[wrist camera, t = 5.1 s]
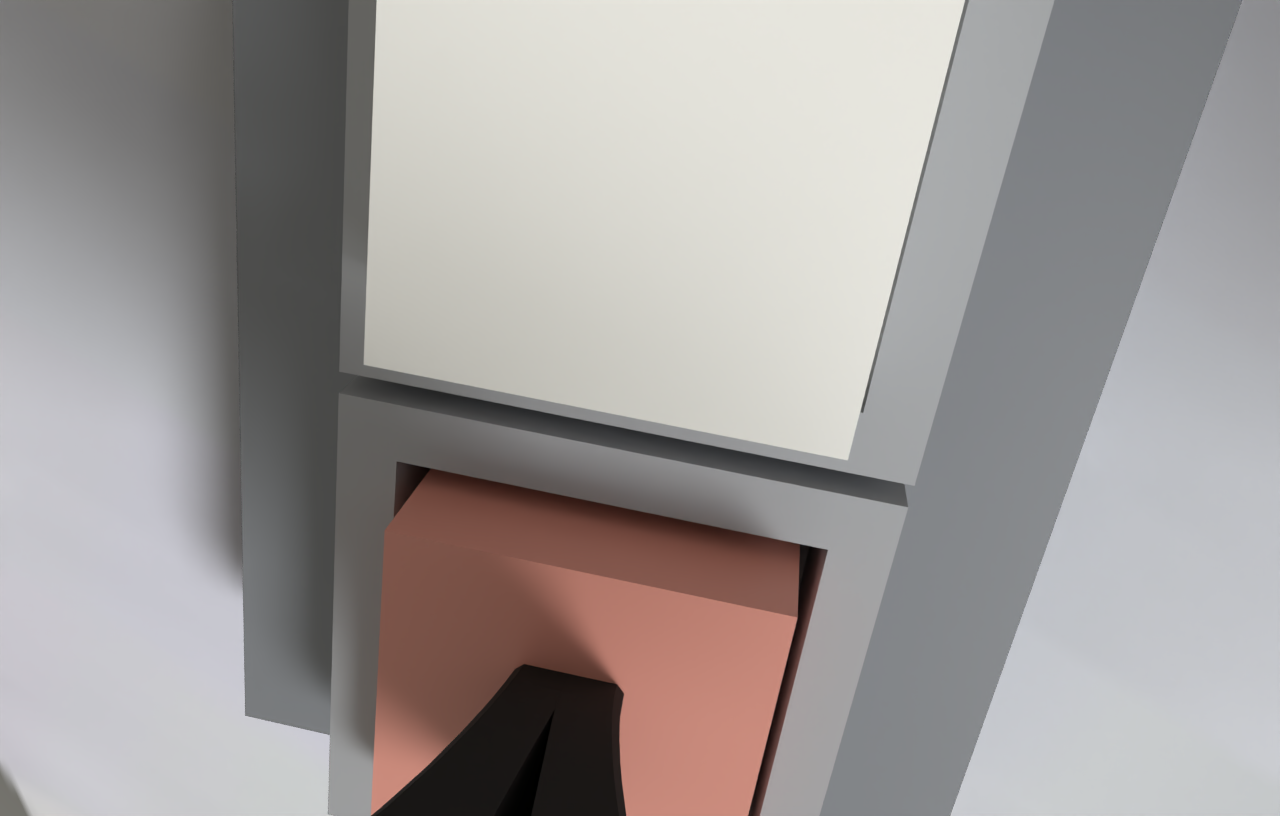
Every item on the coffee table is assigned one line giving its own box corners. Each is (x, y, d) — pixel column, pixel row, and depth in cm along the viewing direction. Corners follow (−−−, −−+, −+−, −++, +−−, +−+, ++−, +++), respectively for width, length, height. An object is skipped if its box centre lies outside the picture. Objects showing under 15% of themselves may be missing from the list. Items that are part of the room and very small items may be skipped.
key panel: (1514, -1034, 10) (1979, -1693, 6) (917, 766, 20) (943, 978, 16) (332, -1124, 11) (50, -1742, 7) (307, 632, 21) (182, 799, 17)
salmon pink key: (800, 512, 14) (797, 617, 12) (736, 785, 17) (722, 918, 14) (450, 441, 15) (384, 530, 13) (430, 717, 17) (369, 835, 15)
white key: (953, -85, 11) (989, -95, 8) (841, 368, 13) (847, 460, 10) (473, -160, 11) (383, -188, 9) (441, 292, 13) (363, 364, 11)
